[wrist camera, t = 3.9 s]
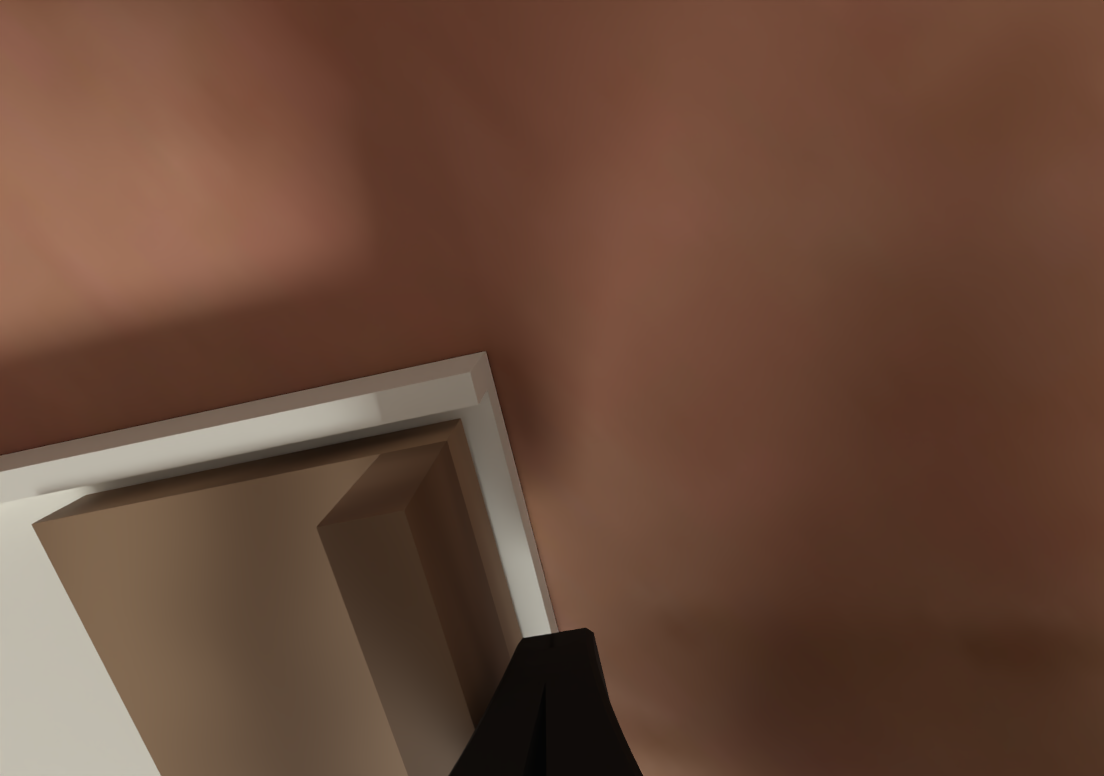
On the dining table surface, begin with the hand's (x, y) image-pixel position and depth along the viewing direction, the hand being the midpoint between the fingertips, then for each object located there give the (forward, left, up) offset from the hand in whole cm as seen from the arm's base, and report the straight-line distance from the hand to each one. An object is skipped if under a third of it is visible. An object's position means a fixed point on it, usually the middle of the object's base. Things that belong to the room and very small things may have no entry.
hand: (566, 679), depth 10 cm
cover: (+5, 0, -2) cm, 5 cm away
